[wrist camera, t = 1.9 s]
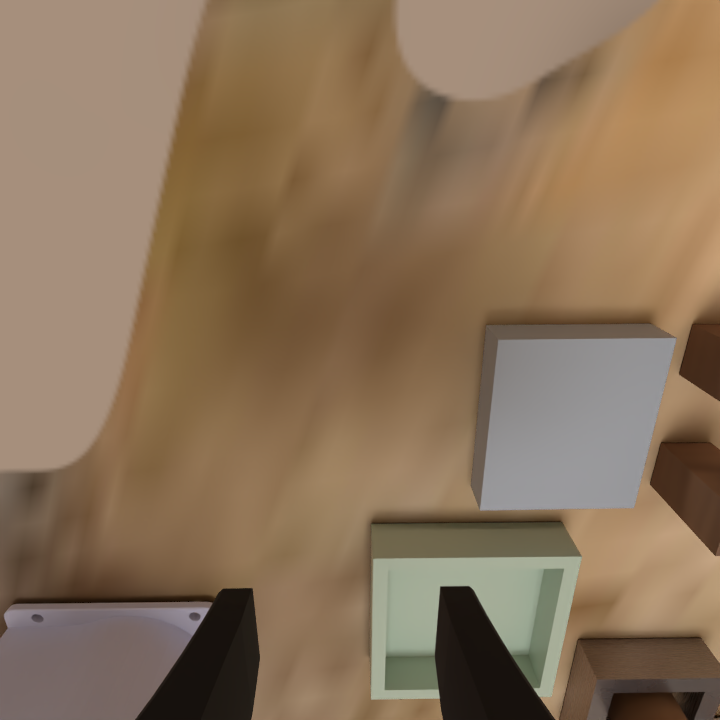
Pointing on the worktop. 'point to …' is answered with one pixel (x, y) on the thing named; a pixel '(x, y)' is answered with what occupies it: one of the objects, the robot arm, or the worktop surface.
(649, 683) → the socket
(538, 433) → the grey square tile
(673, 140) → the worktop surface
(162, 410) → the worktop surface
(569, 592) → the tray
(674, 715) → the dowel
